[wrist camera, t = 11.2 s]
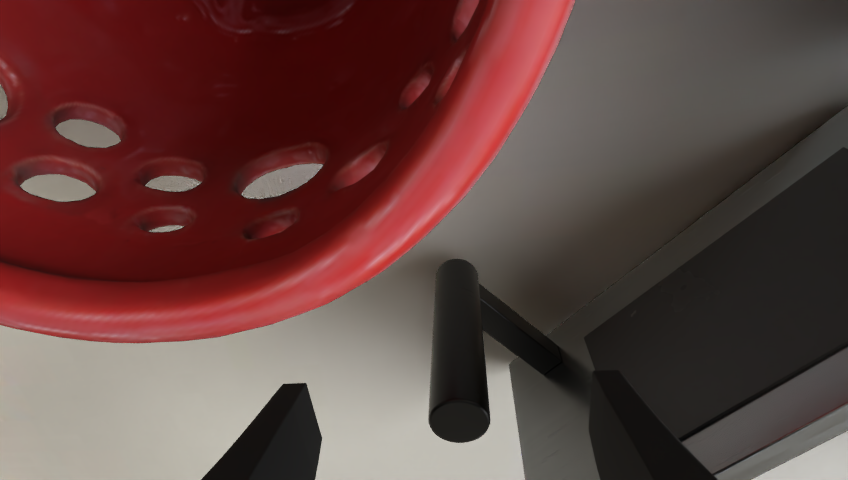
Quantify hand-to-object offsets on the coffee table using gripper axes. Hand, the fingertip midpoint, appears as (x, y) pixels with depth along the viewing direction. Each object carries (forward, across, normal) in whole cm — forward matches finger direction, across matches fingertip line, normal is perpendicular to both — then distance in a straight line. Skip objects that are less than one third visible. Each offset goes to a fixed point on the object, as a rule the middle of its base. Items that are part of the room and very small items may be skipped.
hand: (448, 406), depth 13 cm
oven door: (+8, -6, -1) cm, 10 cm away
